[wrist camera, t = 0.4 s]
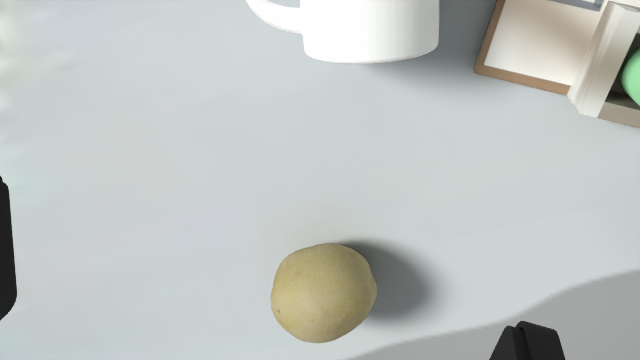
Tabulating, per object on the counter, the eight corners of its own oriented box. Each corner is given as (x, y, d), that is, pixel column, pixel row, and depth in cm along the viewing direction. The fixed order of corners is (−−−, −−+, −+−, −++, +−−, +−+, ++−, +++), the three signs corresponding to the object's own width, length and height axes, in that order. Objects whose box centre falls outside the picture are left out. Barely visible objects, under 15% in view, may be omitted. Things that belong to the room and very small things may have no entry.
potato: (277, 225, 45) (247, 284, 38) (373, 219, 43) (360, 280, 36) (295, 300, 48) (270, 368, 41) (385, 298, 46) (376, 369, 39)
